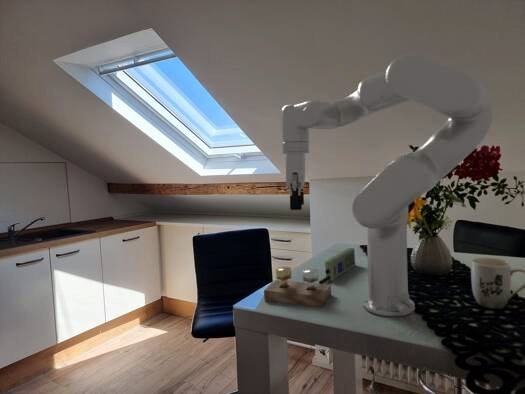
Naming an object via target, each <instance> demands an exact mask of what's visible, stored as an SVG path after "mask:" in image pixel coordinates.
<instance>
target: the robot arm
mask: <svg viewBox="0 0 525 394" xmlns="http://www.w3.org/2000/svg"><path fill="white" fill-rule="evenodd" d="M411 101H412V102H414V103H417V104H418V105H421V106H423V107H425V108H428V109H431V110H432V111H434V112H436V113H438V114H441V115H443V116H444V117H448V119H447V120H446V121H445V124H443V126H441V127H440V128H438V130H436V131H435V132H434V133H433V134H432V135H431V136H430V137H429V138H428V139H427V140H426V141H425V142H424V143H423V144H422V145H421V146H420V147H419V148H417V149H415V151H414V152H411V153H407V154H402V155H400V156H398V157H396V158H395V159H393V160H392V161H390V162H389V163H388V164H387V165H385V167H384V168H383V169H382V170H380V172H379V173H378V174H376V175H375V176H374V177H373V178H372V179H371V180H370V181H369V182H368V183H367V184H366V185H365V186H364V187H363V188H362V189H361V190H360V191H359V192H358V193H357V195H356V196H355V198H354V200H353V203H352V206H351V207H352V208H351V209H352V214H353V218H354V220H355V221H356V222H357V223H358V224H360V226H362V227H364V228H367V234H366V236H367V237H366V241H367V242H366V245H367V273H368V275H367V276H368V277H367V278H368V281H367V282H368V296H366V297H365V298H364V299H363V301H362V306H363V308H364V309H365V310H366V311H368V312H370V313H372V314H375V315H379V316H385V317H403V316H407V315H410V314H412V313H413V312H414V311H415V310H416V307H415V306H416V304H415V302H414V301H413V300H412V299H410V294H409V290H408V289H409V287H408V286H409V285H408V284H409V283H408V281H409V280H408V234H407V233H408V219H409V218H408V217H409V206H410V205H411V204H412V203H413V202H414V201H416V200H417V199H418V198H419V197H420V196H422V195H424V194H425V193H428V192H429V191H431V190H433V188H435V186H437V184H439V182H441V180H442V179H444V177H446V176H447V175H448V174H449V173H450V172H451V171H453V170H454V169H455V168H456V167H457V166H458V165H460V163H462V162H463V160H465V158H467V157H468V156H469V155H470V154H471V153H472V152H474V150H476V149H477V148H478V147H479V145H480V144H481V143H482V142H483V141H484V139H485V138H486V136H487V134H488V132H489V131H490V127H491V125H492V122H493V121H492V120H493V112H494V111H493V105H492V101H491V97H490V95H489V92H488V91H487V89H486V87H485V86H484V85H483V84H482V83H481V82H480V81H478V79H477V78H475V77H474V76H472V75H470V74H468V73H465V72H463V71H460V70H458V69H456V68H455V69H454V68H453V67H450V66H447V65H444V64H441V63H439V62H436V61H434V60H431V59H429V58H426V57H424V56H422V55H419V54H416V53H405V54H401V55H399V56H398V57H395V58H394V59H393V61H391V62H390V64H389V65H388V67H387V69H386V71H383V72H380V73H377V74H375V75H373V76H370V77H368V78H365V79H363V80H361V81H360V82H359V84H358V87H357V89H356V91H354V92H353V93H352V94H350V95H347V96H346V97H343V98H341V99H337V100H335V101H332V102H330V101H324V100H318V99H313V100H312V99H311V100H307V101H305V102H302V103H292V104H286V105H284V106H283V107H282V108H281V130H282V134H281V135H282V154H283V155H286V157H285V187H286V189H290V193H289V194H290V195H289V209H290V211H301V210H302V208H303V205H304V204H305V200H304V199H305V197H304V195H305V192H304V186H305V183H306V182H305V180H306V154H309V153H310V146H309V145H310V142H309V141H310V139H309V138H310V136H309V135H310V134H309V133H310V131H309V129H314V130H326V131H327V130H335V129H336V128H337V129H338V128H341V127H344V126H347V125H350V124H352V123H355V122H358V121H361V120H362V119H365V118H366V117H369V116H371V115H373V114H375V113H377V112H381V111H384V110H387V109H389V108H392V107H395V106H397V105H402V104H405V103H407V102H411Z"/></svg>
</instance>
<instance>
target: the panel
mask: <svg viewBox="0 0 525 394" xmlns="http://www.w3.org/2000/svg"><path fill="white" fill-rule="evenodd" d="M314 284H315V290H314V291H311V290H308V288H307V282H302V281H301V282H300V281H289V280H288V288H281V280H279V279H276V280H274V281H273V282H272V283H271V284H269V285H268V286H267V287H266V288H265V289H264V290H263V297H264V298H263V299H264V301H265V302H273V303H274V302H275V303H283V304H293V305H300V306H301V305H302V306H309V307H312V306H313V307H319V308H320V307H321V308H324V306H325V305H326V303H327V302H328V301H329V299H330V298H331V296H332V285H331V284H326V283H324V284H319V283H315V282H314Z"/></svg>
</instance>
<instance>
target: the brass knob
mask: <svg viewBox="0 0 525 394" xmlns="http://www.w3.org/2000/svg"><path fill="white" fill-rule="evenodd" d="M275 277H276V278H275V279H276V280H279V281H281V288H288V281H289V279H291V278H292V267H289V266H279V267H276V268H275Z"/></svg>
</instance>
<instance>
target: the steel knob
mask: <svg viewBox="0 0 525 394" xmlns="http://www.w3.org/2000/svg"><path fill="white" fill-rule="evenodd" d="M301 273H302V281H304V283H307V288H308V290H311V291H314V290H315V284H316V283H315V282H319V281H320V280H319V269H317V268H311V267H310V268H308V267H307V268H305V269H304V268H303V270H302V272H301ZM314 283H315V284H314Z"/></svg>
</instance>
